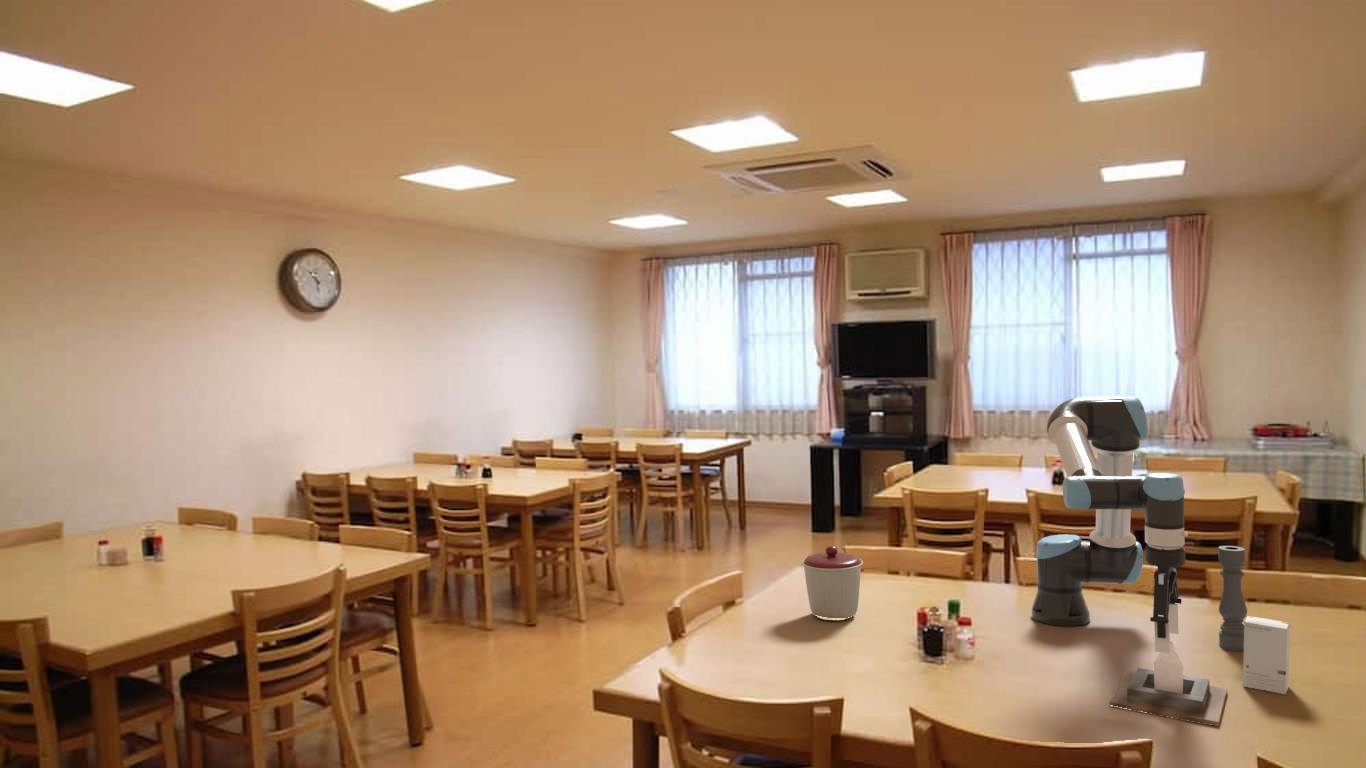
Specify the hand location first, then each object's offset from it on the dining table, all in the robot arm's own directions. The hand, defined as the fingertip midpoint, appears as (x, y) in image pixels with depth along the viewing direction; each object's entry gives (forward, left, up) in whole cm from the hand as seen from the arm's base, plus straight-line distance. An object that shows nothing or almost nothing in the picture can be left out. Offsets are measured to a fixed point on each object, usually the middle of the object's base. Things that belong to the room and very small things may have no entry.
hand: (1167, 642), depth 189 cm
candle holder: (+9, +44, -13) cm, 46 cm away
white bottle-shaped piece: (0, 0, -12) cm, 12 cm away
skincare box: (+17, +18, -13) cm, 28 cm away
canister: (-90, +20, -13) cm, 93 cm away
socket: (0, 0, -13) cm, 13 cm away
